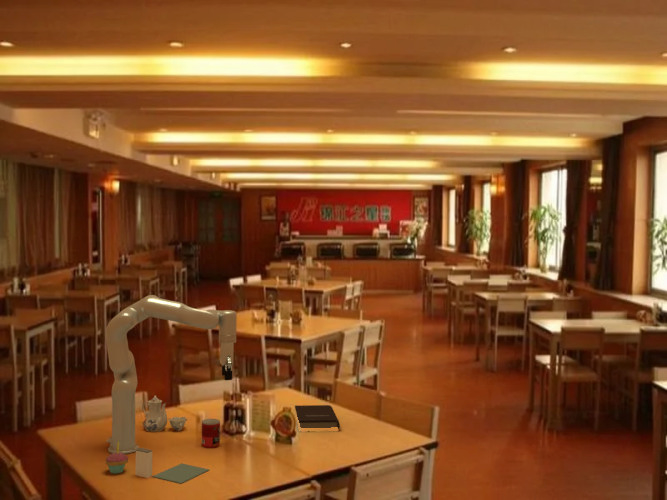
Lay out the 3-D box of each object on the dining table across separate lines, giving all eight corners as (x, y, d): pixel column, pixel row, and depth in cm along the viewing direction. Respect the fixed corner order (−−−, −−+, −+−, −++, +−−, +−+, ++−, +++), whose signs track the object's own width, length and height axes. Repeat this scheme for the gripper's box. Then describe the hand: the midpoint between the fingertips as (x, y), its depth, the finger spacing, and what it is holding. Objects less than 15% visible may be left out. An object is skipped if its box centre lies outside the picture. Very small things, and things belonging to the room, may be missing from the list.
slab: (135, 475, 273) (135, 449, 272) (140, 473, 275) (140, 447, 275) (147, 478, 270) (147, 452, 270) (152, 476, 272) (152, 450, 272)
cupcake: (108, 467, 280) (108, 438, 280) (130, 467, 281) (130, 437, 280) (103, 475, 272) (103, 444, 271) (125, 475, 272) (125, 444, 272)
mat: (152, 477, 271) (152, 476, 271) (181, 464, 286) (181, 463, 286) (181, 483, 265) (181, 482, 264) (209, 470, 280) (209, 469, 280)
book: (339, 432, 336) (340, 420, 336) (298, 433, 334) (299, 420, 334) (332, 416, 364) (332, 405, 364) (294, 417, 362) (294, 405, 361)
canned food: (216, 449, 306) (216, 423, 306) (198, 447, 308) (199, 422, 308) (222, 443, 314) (222, 419, 314) (205, 442, 316) (205, 417, 315)
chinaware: (193, 432, 335) (196, 397, 336) (167, 437, 321) (170, 400, 322) (151, 423, 350) (154, 389, 351) (125, 427, 336) (128, 392, 337)
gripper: (216, 335, 316) (216, 373, 317) (221, 342, 300) (220, 382, 300) (233, 335, 318) (232, 373, 319) (238, 341, 302) (238, 381, 302)
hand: (226, 377), depth 310 cm, fingers open, 9 cm apart
